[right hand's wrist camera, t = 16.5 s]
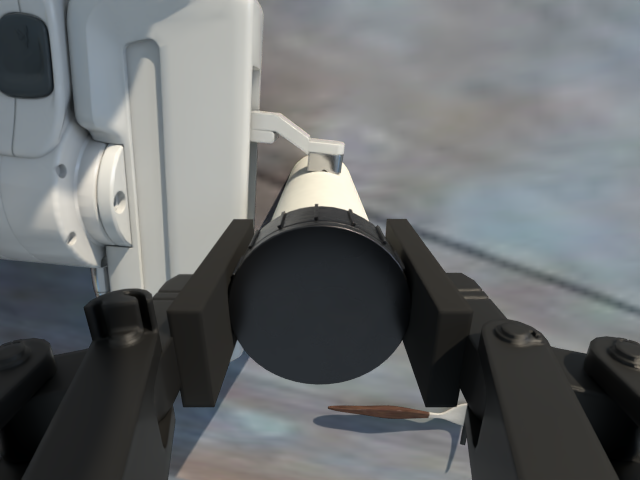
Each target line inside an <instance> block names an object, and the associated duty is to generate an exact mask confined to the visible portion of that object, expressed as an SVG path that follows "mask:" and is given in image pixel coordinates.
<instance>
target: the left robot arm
mask: <svg viewBox="0 0 640 480" xmlns="http://www.w3.org/2000/svg"><path fill="white" fill-rule="evenodd" d="M262 37H263V11H262V8H261V6H260V4H259V2H258V1H257V0H0V259H4V260H14V261H26V262H37V263H47V264H56V265H67V266H77V267H88V268H90V269H91V276H92V283H93V288H94V292H95V295H96V298H97V297H99V296H100V295H103V294H106V293H109V292H112V291H116V290H121V289H130V288H139V289H144V290H147V291H149V292H150V293H151V294H152V297H153V296H154V295H155V294H156V293H158V290H159V289H160V288H161V287H162V286H163V284H164V283H165V282H166V281H168V280H170V279H171V278H173V277H175V276H177V275H178V274H194V272H195V271H196V270H197V268H198V267H199V265H200V264H201V263H202V261H203V260H204V259H205V257H206V256H207V255H208V253H209V252H210V250H211V249H212V248H213V246H214V245H215V244H216V242H217V241H218V240H219V238H220V237H221V235H222V234H223V233H224V231H225V230H226V229H227V227H228V226H229V224H230V223H231V222H232V220H233V219H253V226H255V202H256V178H257V155H258V142H259V143H269V144H272V143H273V142H274V141H275V140H276V139H278V137H279V135H281V136H282V137H284V138H285V139H286V140H288V141H289V142H291V143H292V144H293V145H295V146H296V147H298V148H299V149H300V150H302V151H303V152H305V153H306V154H308V166H307V171H315V172H321V171H323V170H324V169H325V170H326V171H327V172H329V173H334V174H338V173H341V168H342V161H343V154H344V146H345V144H344V143H343V142H339V141H332V140H323V139H314V138H310V135H309V134H307V133H306V132H305V131H303V130H302V129H301V128H299V127H298V126H297V125H295V124H294V123H293V122H291V121H290V120H289V119H287V118H286V117H285V116H283V115H282V114H281V113H274V112H265V111H259V108H260V84H261V61H262ZM243 350H244V349H243V348H242V346H241V345H240V343H239V342H238V340H237V342H236V345H235V348H234V351H233V354H232V357H231V360H230V362H231V361H233V360H235V359H237V358H239V357H240V356H241V355H242V353H243Z"/></svg>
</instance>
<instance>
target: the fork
mask: <svg viewBox="0 0 640 480" xmlns="http://www.w3.org/2000/svg"><path fill="white" fill-rule="evenodd" d="M466 408H467V404H460V405H457V407H453V408H451V409H449V410H447V411H445V412H442V413H431V412H426V411H420V410H415V409H410V408H404V407H398V406H329V407H328V409H331V410H335V411H341V412H347V413H354V414H361V415H368V416H374V417H381V418H390V419H409V418H442V419H445V420H448V421H450V422H452V423H455V424H458V425H461V426H463V424H464V419H465V414H466Z"/></svg>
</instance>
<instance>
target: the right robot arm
mask: <svg viewBox="0 0 640 480" xmlns="http://www.w3.org/2000/svg"><path fill="white" fill-rule="evenodd" d="M253 236H254V226H253V219H233V220H232V222H231V223H230V224H229V226H228V227H227V229H226V230H225V231H224V233H223V234H222V235H221V237H220V238H219V240H218V241H217V242H216V244H215V245H214V246H213V248H212V249H211V250H210V252H209V253H208V255H207V256H206V257H205V259H204V260H203V261H202V263H201V264H200V265H199V267H198V268H197V270H196V271H195V272H194V274H178V275H177V276H175V277H173V278H171V279H170V280H168V281H166V282H165V283H164V284H163V286H162V287H161V288H160V289H159V290H158V293H156V294H155V295H154V296H153V297H152V294H151V293H150V292H149V291H147V290H144V289H139V288H130V289H121V290H116V291H112V292H109V293H106V294H103V295H100V296H99V297H97V298H95V299H93V300H91V301H90V302H89V303H88V304H87V305H86V306H85V307H84V311H85V314H86V318H87V322H88V326H89V329H90V333H91V337H92V340H93V341H92V343H91V345H90V347H89V348H88V349H84V350H80V351H74V352H69V353H64V354H59V355H53V352H52V349H51V346H50V343H48V342H47V341H46V340H44V339H36V338H31V339H23V340H22V339H20V340H15V341H13V342H8V343H5V344H3V345H1V346H0V480H168V475H169V467H170V459H171V451H172V443H173V436H174V428H175V414H174V408H173V403H174V401H175V399H176V397H177V395H178V393H179V391H180V392H181V398H182V403H183V407H214V406H215V403H216V400H217V398H218V395H219V392H220V389H221V386H222V383H223V380H224V377H225V374H226V371H227V369H228V366H229V363H230V360H231V357H232V354H233V351H234V348H235V345H236V342H237V338H236V336H235V334H234V332H233V329H232V326H231V323H230V316H229V306H228V296H229V290H230V286H231V283H232V280H233V277H232V274H233V272H234V270H235V268H236V266H237V264H238V262H239V260H240V258H241V256H244V255H245V253H246V251H247V248H248V246H249V244H250V242H251V240H252V238H253ZM386 239H387V240H388V242H389V244H390V245H391V247H392V249H393V251H395V250H396V251H397V253H398V255H399V257H400V259H401V261H402V263H403V265H404V267H405V269H406V271H405V272H404V273H405V276H406V278H407V280H408V283H409V287H410V291H411V299H412V304H411V314H410V322H409V325H408V328H407V331H406V334H405V336H404V337H403V339H402V340H403V343H404V346H405V349H406V352H407V354H408V357H409V360H410V363H411V366H412V369H413V372H414V375H415V378H416V381H417V383H418V386H419V389H420V392H421V395H422V398H423V401H424V404H425V407H457V402H458V397H459V391H460V389H461V391H462V393H463V395H464V397H465V399H466V401H467V408H466V414H465V419H464V424H463V430H462V435H461V441H460V444H462V445H465V443H466V438H467V443H468V450H469V458H470V466H471V474H472V480H640V344H639V343H637V342H635V341H632V340H627V339H624V338H615V337H607V336H606V337H598V338H595V339H594V340H592V341H591V342H590V345H589V348H588V351H587V354H585V353H580V352H574V351H569V350H564V349H559V348H554V347H551V346H550V344H549V342H548V340H547V339H546V338H545V337H544V336H543V334H542V333H540V332H539V331H537V330H536V329H534V328H533V327H531V326H529V325H526V324H524V323H521V322H518V321H513V320H509V319H507V318H506V317H505V316H504V315H503V313H502V312H501V311H500V310H499V309H498V308H497V306H496V305H495V304H494V303H493V302H492V301H491V299H488V296H487V295H486V294H485V292H484V291H482V289H481V288H480V287H479V285H478V284H477V283H476V282H475V281H474V280H472V279H471V278H469V277H467V276H466V275H464V274H462V273H445V271H444V270H443V268H442V267H441V266H440V264H439V263H438V262H437V260H436V259H435V257H434V256H433V255H432V253H431V252H430V251H429V249H428V248H427V247H426V245H425V244H424V242H423V241H422V240H421V238H420V237H419V236H418V234H417V233H416V232H415V230H414V229H413V227H412V226H411V225H410V223H409V222H408V221H407V219H387V223H386Z"/></svg>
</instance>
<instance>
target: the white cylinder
mask: <svg viewBox="0 0 640 480" xmlns="http://www.w3.org/2000/svg"><path fill="white" fill-rule="evenodd" d="M307 166H308V156H306V157H304V158H302V159H301V160H300V161H299V162H297V163H296V165H295V166H294V167H293V169H292V171H291V173H290V176H289V178H288V181H287V183H286V185H285V188H284V190H283V193H282V195H281V198H280V200H279V203H278V205H277V208H276V210H275V212H274V215H273V217H272V220H274V219H275V218H277V217H279V216H280V215H281V213H282V212H283V211H285V212H286V213H287V212H289V211H293V210H296V209H299V208H305V207H311V206H315V204H318V206H327V207H335V208H340V209H344V210H347V211H348V210H349V209H351V210H352V211H353V213H355V214H357V215H359V216H361V217H363V218H365V219H366V220H367V221H369V220H368V218H367V215H366V213H365V210H364V208H363V205H362V203H361V201H360V198H359V196H358V193H357V191H356V188H355V186H354V183H353V181H352V178H351V176H350V174H349V171H348V169H347V168H346V166H345V165H344V164H343V163H342V168H341V173H338V174H334V173H329V172H327V171H326V170H325V169H324V170H323V171H321V172H315V171H307ZM272 220H271V221H272Z"/></svg>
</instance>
